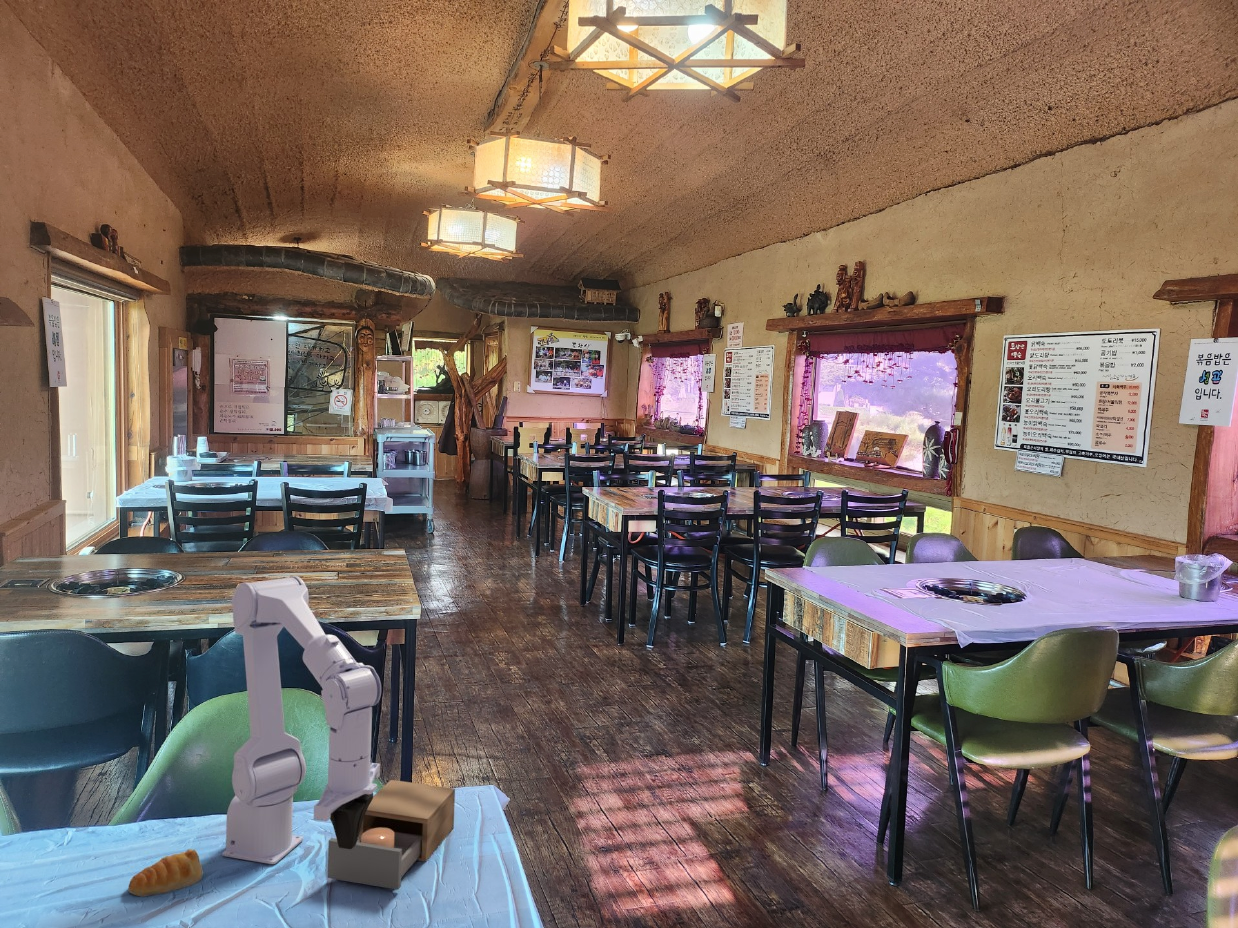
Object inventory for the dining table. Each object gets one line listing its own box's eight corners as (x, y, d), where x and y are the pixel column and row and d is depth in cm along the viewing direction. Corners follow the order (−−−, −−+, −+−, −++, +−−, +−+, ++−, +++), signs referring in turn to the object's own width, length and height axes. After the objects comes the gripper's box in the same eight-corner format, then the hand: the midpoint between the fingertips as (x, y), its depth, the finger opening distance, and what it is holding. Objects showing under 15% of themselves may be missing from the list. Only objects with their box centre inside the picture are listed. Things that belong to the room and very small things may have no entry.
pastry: (135, 907, 112) (136, 881, 112) (122, 887, 117) (122, 861, 117) (206, 881, 119) (206, 857, 119) (191, 863, 123) (191, 839, 123)
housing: (426, 861, 126) (427, 818, 126) (357, 850, 129) (359, 808, 128) (453, 827, 137) (454, 788, 137) (390, 818, 140) (391, 779, 139)
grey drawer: (398, 889, 117) (399, 851, 117) (327, 877, 120) (328, 840, 119) (428, 852, 128) (430, 817, 128) (363, 842, 130) (364, 807, 130)
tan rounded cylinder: (353, 865, 122) (354, 839, 122) (372, 849, 127) (373, 824, 127) (381, 871, 121) (382, 846, 121) (399, 855, 125) (400, 831, 125)
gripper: (348, 778, 105) (345, 877, 106) (399, 737, 119) (396, 825, 120) (300, 771, 106) (298, 869, 107) (356, 732, 121) (354, 818, 121)
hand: (347, 845), depth 113 cm, fingers closed
